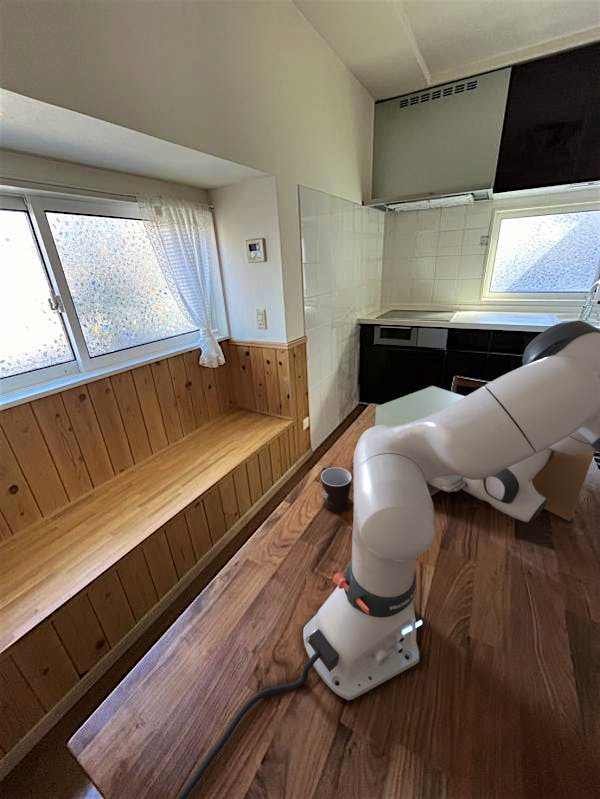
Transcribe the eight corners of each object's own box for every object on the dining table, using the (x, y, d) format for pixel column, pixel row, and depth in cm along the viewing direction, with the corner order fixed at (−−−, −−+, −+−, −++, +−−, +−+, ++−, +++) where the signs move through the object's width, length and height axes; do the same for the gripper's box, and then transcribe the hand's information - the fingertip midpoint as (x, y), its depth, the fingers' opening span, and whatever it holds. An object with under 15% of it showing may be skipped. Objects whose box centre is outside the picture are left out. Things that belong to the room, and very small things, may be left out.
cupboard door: (484, 465, 111) (498, 398, 101) (580, 510, 91) (609, 432, 81) (472, 472, 108) (486, 404, 98) (568, 521, 87) (597, 441, 78)
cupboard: (471, 471, 109) (484, 402, 99) (417, 504, 96) (426, 429, 86) (425, 447, 123) (432, 385, 113) (372, 474, 110) (375, 406, 100)
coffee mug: (353, 514, 93) (353, 485, 89) (322, 515, 94) (321, 486, 90) (348, 487, 104) (348, 460, 100) (320, 488, 104) (319, 461, 100)
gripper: (451, 503, 89) (409, 477, 100) (494, 475, 99) (451, 454, 110) (455, 484, 86) (411, 459, 97) (498, 457, 96) (454, 437, 107)
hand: (433, 456), depth 103 cm, fingers open, 8 cm apart
